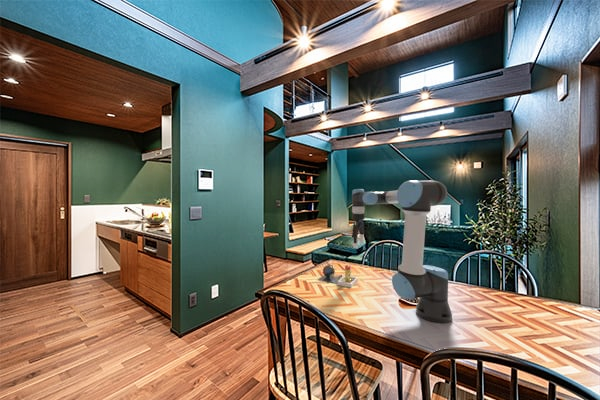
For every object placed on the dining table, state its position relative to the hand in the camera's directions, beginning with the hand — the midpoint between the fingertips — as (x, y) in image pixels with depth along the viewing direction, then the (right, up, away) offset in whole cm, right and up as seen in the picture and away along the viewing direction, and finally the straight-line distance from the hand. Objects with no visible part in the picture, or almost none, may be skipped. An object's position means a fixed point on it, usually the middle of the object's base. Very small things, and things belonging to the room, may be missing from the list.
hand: (358, 246), depth 154 cm
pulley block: (-17, -24, +8) cm, 31 cm away
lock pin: (-7, -24, +1) cm, 25 cm away
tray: (-7, -25, +1) cm, 25 cm away
